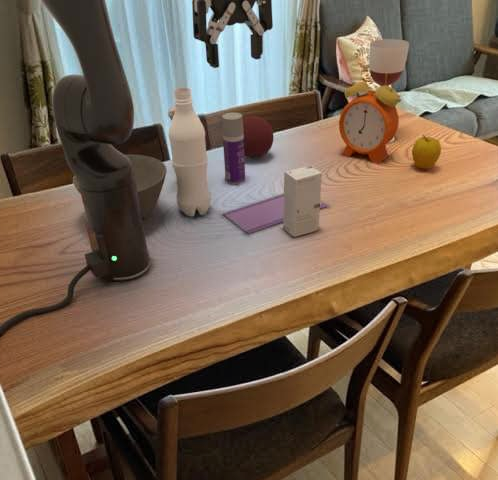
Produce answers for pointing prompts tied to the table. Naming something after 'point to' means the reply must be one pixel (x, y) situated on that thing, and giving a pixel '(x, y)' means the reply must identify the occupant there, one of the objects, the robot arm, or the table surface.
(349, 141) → the alarm clock
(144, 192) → the bowl
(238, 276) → the table surface
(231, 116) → the container
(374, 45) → the wineglass
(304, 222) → the cosmetic box
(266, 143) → the decorative ball
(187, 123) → the water bottle
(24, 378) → the table surface
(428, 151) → the apple
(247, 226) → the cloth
